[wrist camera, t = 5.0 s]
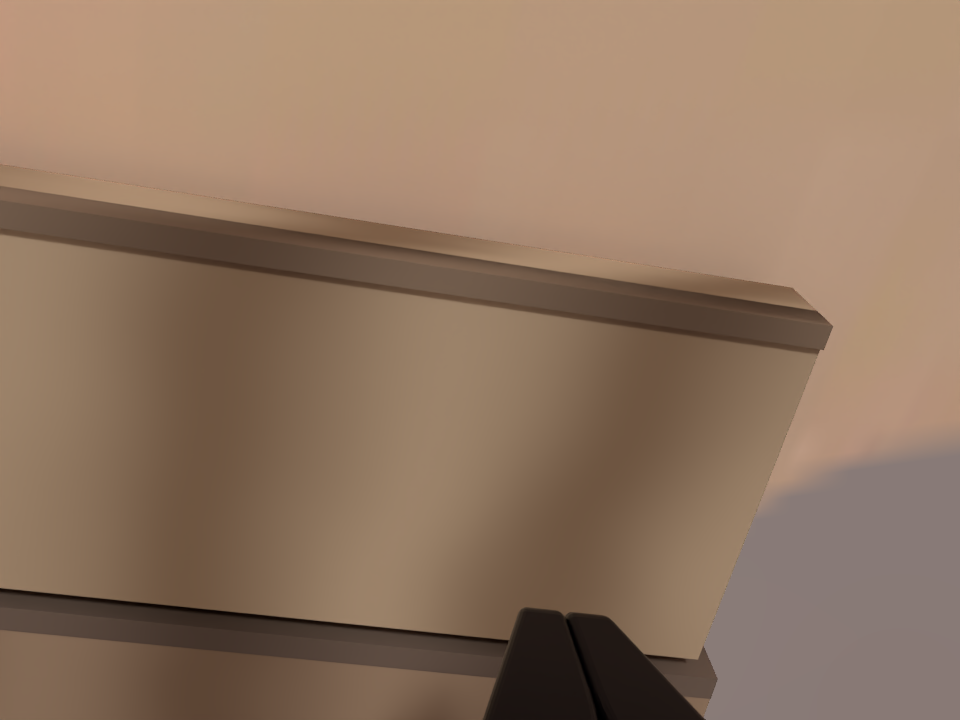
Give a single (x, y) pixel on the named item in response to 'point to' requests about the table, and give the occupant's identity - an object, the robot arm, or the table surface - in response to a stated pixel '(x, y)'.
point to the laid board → (247, 665)
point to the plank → (376, 417)
